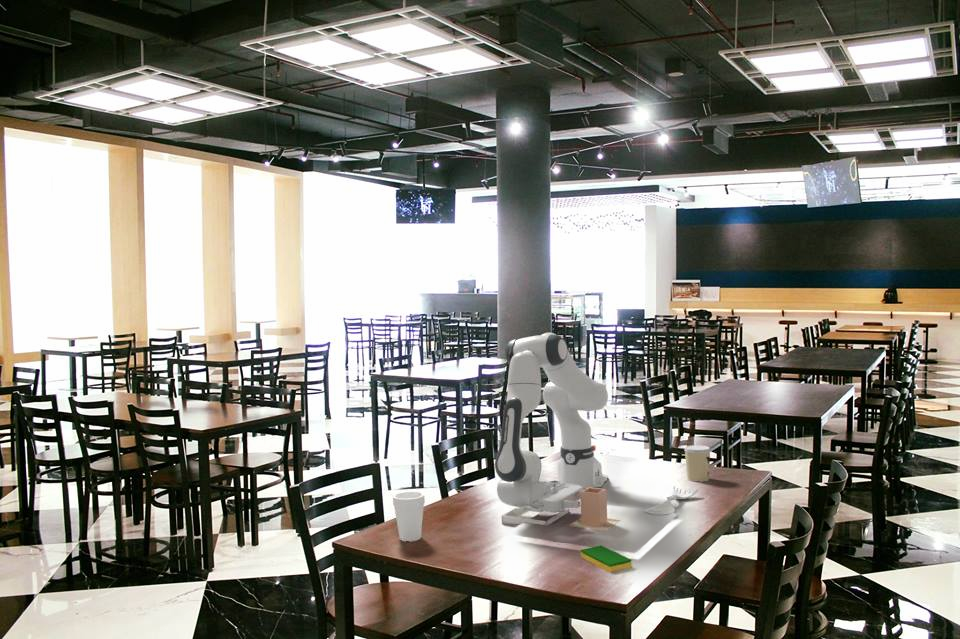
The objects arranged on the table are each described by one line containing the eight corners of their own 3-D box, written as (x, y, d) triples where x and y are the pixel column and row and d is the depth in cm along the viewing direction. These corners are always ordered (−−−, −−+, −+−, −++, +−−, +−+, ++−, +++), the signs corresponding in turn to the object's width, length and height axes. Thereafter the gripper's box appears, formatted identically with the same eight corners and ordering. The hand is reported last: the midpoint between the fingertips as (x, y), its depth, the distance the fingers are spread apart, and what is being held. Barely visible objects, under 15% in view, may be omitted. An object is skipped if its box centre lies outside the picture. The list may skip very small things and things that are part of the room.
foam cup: (399, 545, 226) (398, 501, 226) (390, 536, 235) (388, 493, 234) (430, 539, 230) (428, 496, 229) (420, 531, 238) (418, 489, 238)
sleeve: (589, 519, 240) (588, 487, 240) (607, 521, 237) (606, 489, 236) (581, 524, 235) (580, 491, 234) (599, 526, 232) (598, 493, 231)
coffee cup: (714, 482, 286) (713, 449, 285) (688, 482, 286) (687, 450, 285) (707, 476, 295) (706, 444, 295) (682, 476, 295) (681, 445, 295)
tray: (525, 510, 257) (525, 503, 257) (569, 516, 249) (569, 508, 249) (501, 523, 244) (501, 515, 243) (547, 530, 235) (547, 522, 235)
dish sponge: (609, 573, 199) (609, 564, 199) (580, 558, 211) (579, 549, 211) (632, 568, 202) (632, 559, 202) (601, 553, 214) (601, 544, 214)
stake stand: (584, 520, 244) (583, 493, 244) (620, 524, 238) (619, 497, 238) (568, 530, 234) (567, 502, 234) (605, 536, 228) (604, 507, 227)
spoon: (699, 497, 267) (699, 487, 267) (668, 522, 240) (667, 511, 240) (673, 494, 272) (673, 484, 271) (640, 518, 245) (640, 507, 244)
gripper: (529, 494, 235) (570, 499, 228) (558, 479, 253) (597, 483, 245) (529, 514, 235) (571, 520, 228) (558, 498, 253) (598, 502, 246)
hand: (585, 500), depth 237 cm, fingers open, 8 cm apart
